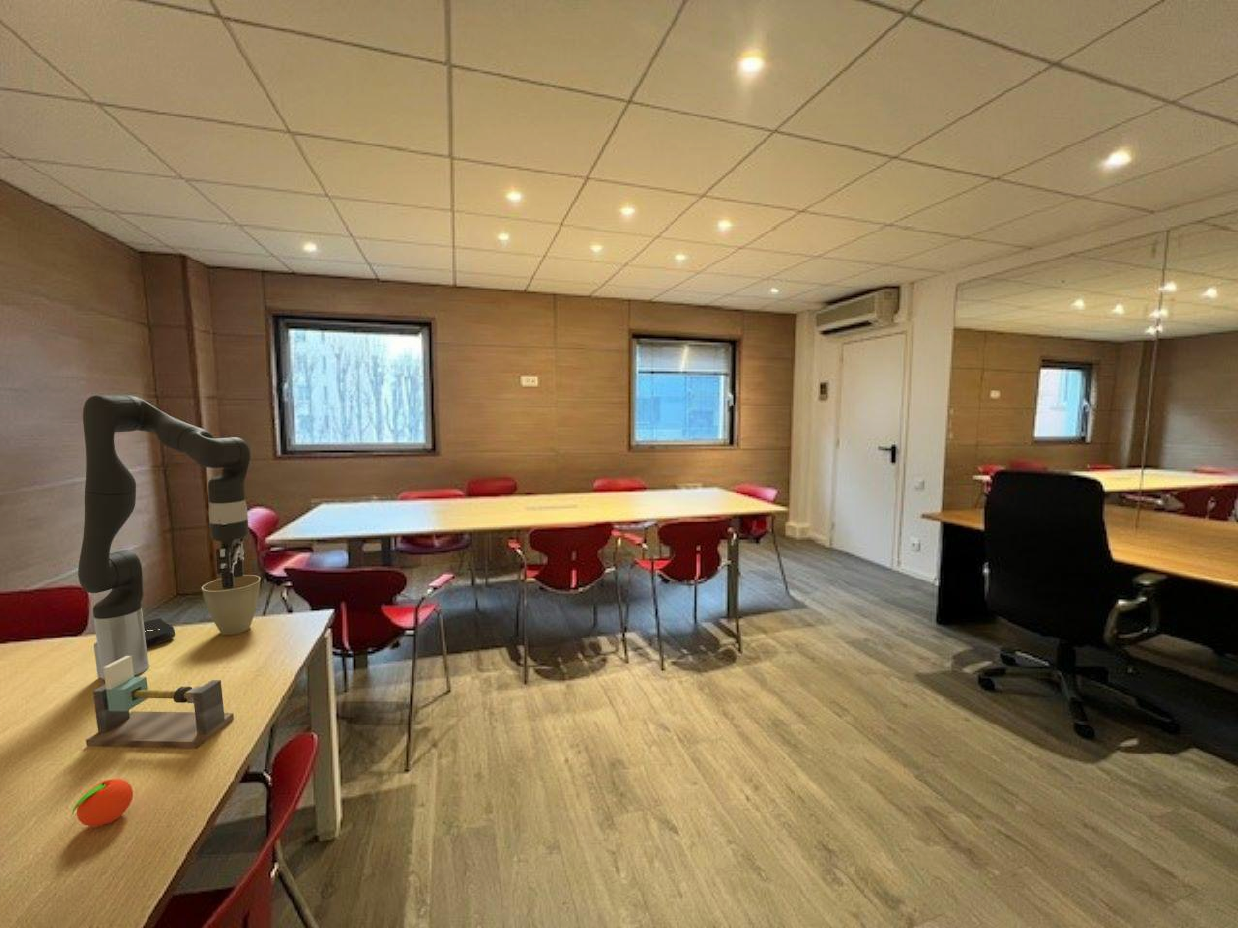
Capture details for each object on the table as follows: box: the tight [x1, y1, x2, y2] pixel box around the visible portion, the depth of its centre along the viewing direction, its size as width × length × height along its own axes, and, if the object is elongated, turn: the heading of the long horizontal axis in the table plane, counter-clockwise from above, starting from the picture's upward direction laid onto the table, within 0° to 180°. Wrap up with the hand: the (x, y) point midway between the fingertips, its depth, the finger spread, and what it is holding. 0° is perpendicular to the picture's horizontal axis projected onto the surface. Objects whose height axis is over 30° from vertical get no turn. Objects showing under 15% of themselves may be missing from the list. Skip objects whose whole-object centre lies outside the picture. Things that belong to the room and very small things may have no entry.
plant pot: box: [201, 574, 261, 636], centre depth 162 cm, size 15×15×16 cm
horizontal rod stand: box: [85, 679, 235, 749], centre depth 112 cm, size 24×10×11 cm, turn 89°
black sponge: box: [144, 617, 176, 648], centre depth 157 cm, size 16×8×4 cm, turn 56°
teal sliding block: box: [103, 656, 149, 711], centre depth 111 cm, size 4×5×10 cm
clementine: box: [70, 778, 134, 828], centre depth 88 cm, size 8×7×7 cm
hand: (233, 582), depth 127 cm, fingers open, 8 cm apart
